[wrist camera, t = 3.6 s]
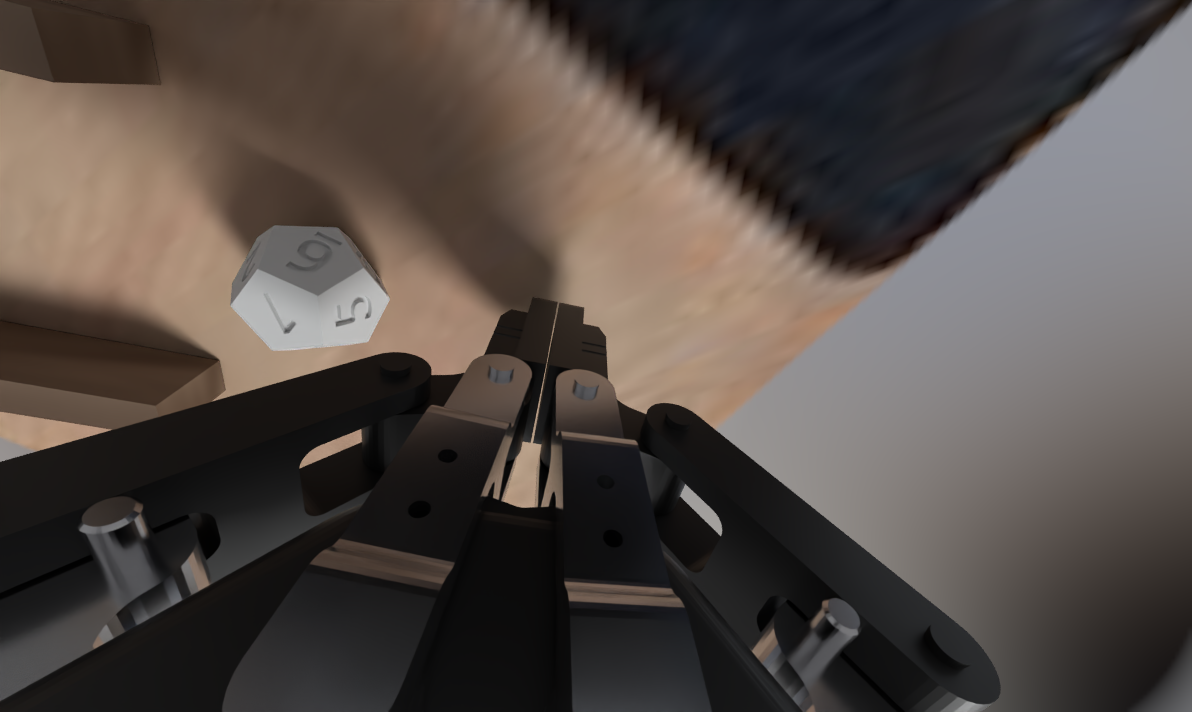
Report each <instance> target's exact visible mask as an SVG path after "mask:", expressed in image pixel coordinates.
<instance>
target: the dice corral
mask: <svg viewBox="0 0 1192 712" xmlns="http://www.w3.org/2000/svg"><path fill="white" fill-rule="evenodd" d="M0 69H1V70H5V71H9V72H13V73H17V74H22V75H26V76H30V77H34V78H38V79H43V80H47V81H51V82H63V83H106V84H149V85H161V84H160V79H159V75H158V70H157V65H156V60H155V56H154V51H153V46H152V42H151V37H150V32H149V28H148V25H144V24H140V23H136V22H132V21H128V20H124V19H120V18H117V17H113V16H109V15H105V14H101V13H97V12H93V11H89V10H85V9H82V8H78V7H74V6H70V5H66V4H62V3H58V2H54V1H50V0H0ZM225 390H226V389H225V385H224V380H223V375H222V371H221V366H220V361H218V360H213V359H207V358H202V357H196V356H191V355H185V354H180V353H174V352H169V351H163V350H158V349H152V348H147V347H141V346H136V345H130V344H125V343H119V342H114V341H108V340H103V339H97V338H92V337H86V336H81V335H75V334H70V333H64V332H59V331H53V330H48V329H42V328H37V327H31V326H25V325H20V324H14V323H9V322H3V321H0V412H6V413H13V414H19V415H25V416H31V417H38V418H44V419H50V420H56V421H62V422H69V423H75V424H81V425H87V426H93V427H100V428H106V429H112V430H114V429H118V428H121V427H125V426H128V425H132V424H135V423H139V422H142V421H146V420H149V419H153V418H156V417H160V416H163V415H167V414H170V413H174V412H177V411H181V410H185V409H188V408H192V407H195V406H199V405H202V404H206V403H209V402H211V401H213V400H214V399H215V398H216V397H218V396H219V395H220V394H221V393H223V392H224V391H225Z"/></svg>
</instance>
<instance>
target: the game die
mask: <svg viewBox="0 0 1192 712" xmlns="http://www.w3.org/2000/svg"><path fill="white" fill-rule="evenodd" d="M389 300H390V298H389V296H388V293H387V291H386V289H385V287H384V285H383V283H382V281H381V279H380V278H379V277H378V275H377V274H376V273H375V271H374V270H373V268H372V267H371V266H370V264H369V263H368V262H367V260H366V259H365V258H364V256H363V255H362V253H361V252H360V251H359V249H358V248H357V247H356V245H355V244H354V242H353V241H352V240H351V238H349V237H348V236H347V235H346V234H345V233H344V232H342V231H341V230H340V229H339V228H338V227H309V226H279V225H274V226H272V227H271V228H270V229H268V230H267V231H265V232H264V233H263V234H261V235H260V236H258V237H257V239H256V241H255V243H254V244H253V246H252V248H251V250H250V252H249V253H248V255H247V257H246V259H245V261H244V263H243V264H242V266H241V268H240V270H239V272H238V274H237V275H236V277H235V279H234V281H233V283H232V293H231V304H230V306H231V307H232V308H233V309H234V310H235V311H236V312H237V313H238V315H239V316H240V317H241V318H242V319H243V320H244V321H245V322H246V323H247V324H248V325H249V326H250V327H251V328H252V330H253V331H254V332H255V333H256V334H257V335H258V336H259V337H260V338H261V339H262V340H263V341H264V342H265V343H266V345H267V346H268V347H269V348H270V349H271V350H272V351H277V350H298V349H309V348H320V347H331V346H342V345H351V344H358V343H365V342H368V341H369V339H370V337H371V335H372V333H373V331H374V329H375V327H376V325H377V323H378V321H379V319H380V317H381V315H382V313H383V311H384V309H385V308H386V306H387V304H388V302H389Z"/></svg>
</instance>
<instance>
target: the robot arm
mask: <svg viewBox="0 0 1192 712" xmlns="http://www.w3.org/2000/svg"><path fill="white" fill-rule="evenodd" d="M556 308H557V302H555V301H550V300H545V299H540V298H535V297H533V298H532V302H531V305H530V308H529V311H528V313H526V312H521V311H517V310H512V309H511V310H510V311H508V312H506V313H505V314H503V315H501V317H500V319H499V321H498V324H497V327H496V328H495V331H494V334H493V335H492V338H491V340H490V342H489V345H488V347H487V350H486V352H485V354H484V355H483V356H480V357H478V358H476V359H474V360H473V361H472V362H471V364H470V365H469V367H468V368H467V370H466V372H465V373H461V374H455V375H431V367H430V365H429V364H428V363H427V362H426V361H425V360H424V359H422V358H420V357H418V356H415V355H412V354H408V353H399V352H391V353H382V354H378V355H374V356H371V357H367V358H364V359H360V360H357V361H353V362H350V363H346V364H343V365H339V366H336V367H332V368H329V369H325V370H322V371H318V372H315V373H311V374H308V375H304V376H300V377H297V378H293V379H290V380H286V381H283V382H279V383H276V384H272V385H269V386H265V387H262V388H258V389H255V390H251V391H248V392H244V393H241V394H237V395H234V396H230V397H227V398H223V399H220V400H216V401H213V402H209V403H206V404H202V405H199V406H195V407H192V408H188V409H185V410H181V411H177V412H174V413H170V414H167V415H163V416H160V417H156V418H153V419H149V420H146V421H142V422H139V423H135V424H132V425H128V426H125V427H121V428H118V429H114V430H111V431H107V432H104V433H100V434H97V435H93V436H90V437H86V438H83V439H79V440H76V441H72V442H69V443H65V444H62V445H58V446H55V447H51V448H47V449H44V450H40V451H37V452H33V453H30V454H26V455H23V456H20V457H16V458H12V459H9V460H5V461H2V462H0V712H981V711H983V710H984V709H985V708H986V707H988V706H989V705H991V704H992V703H993V702H995V701H996V700H997V699H998V698H999V695H1000V682H999V677H998V675H997V672H996V670H995V668H994V666H993V664H992V662H991V661H990V659H989V657H988V656H987V654H986V653H985V652H984V650H983V649H982V648H981V646H980V645H979V644H978V643H977V642H976V641H975V640H974V638H972V636H971V635H970V634H968V632H967V631H965V630H964V629H963V628H962V627H960V626H959V625H958V624H957V623H956V622H955V621H954V620H952V619H951V618H949V616H947V615H946V614H945V613H943V612H942V611H941V610H940V609H939V608H937V607H936V606H935V605H934V604H932V603H931V602H930V601H928V600H927V599H926V598H925V597H923V596H922V595H921V594H920V593H919V592H917V591H916V590H915V589H913V588H912V587H911V586H910V585H909V584H907V583H906V582H905V581H904V580H902V579H901V578H900V577H898V576H897V575H896V574H895V573H894V572H892V571H891V570H890V569H889V568H887V567H886V566H885V565H884V564H882V563H881V562H880V561H878V560H877V559H876V558H875V557H873V556H872V555H871V554H870V553H869V552H867V551H866V550H865V549H864V548H862V547H861V546H860V545H858V544H857V543H856V542H855V541H854V540H852V539H851V538H850V537H849V536H847V535H846V534H845V533H844V532H842V531H841V530H840V529H839V528H837V527H836V526H835V525H834V524H832V523H831V522H830V521H829V520H827V519H826V518H825V517H824V516H822V515H821V514H820V513H818V512H817V511H816V510H815V509H814V508H812V507H811V506H810V505H809V504H807V503H806V502H805V501H803V500H802V499H801V498H800V497H799V496H797V495H796V494H795V493H794V492H792V491H791V490H790V489H789V488H787V487H786V486H785V485H784V484H782V483H781V482H780V481H779V480H777V479H776V478H774V477H773V476H772V475H771V474H770V473H769V472H767V471H766V470H765V469H764V468H762V467H761V466H760V465H758V464H757V463H756V462H755V461H754V460H752V459H751V458H750V457H749V456H747V455H746V454H745V453H744V452H742V451H741V450H740V449H739V448H737V447H736V446H735V445H733V444H732V443H731V442H730V441H729V440H727V439H726V438H725V437H724V436H722V435H721V434H720V433H719V432H717V431H716V430H715V429H714V428H712V427H711V426H710V425H709V424H707V423H706V422H705V421H704V420H702V419H701V418H700V417H699V416H697V415H696V414H695V413H693V412H692V411H690V410H688V409H686V408H684V407H682V406H679V405H675V404H670V403H659V404H655V405H653V406H651V407H650V408H649V409H648V411H647V414H644V413H642V412H639V411H637V410H634V409H632V408H629V407H627V406H626V405H624V404H622V403H621V402H619V401H618V400H617V398H616V393H615V389H614V387H613V385H612V384H611V382H610V381H608V373H607V356H606V355H607V351H606V336H605V335H604V334H603V332H602V331H601V330H600V328H599V327H596V326H591V325H586V324H583V318H584V307H579V306H574V305H569V304H565V303H559V308H558V313H557V318H556V323H555V328H554V333H553V337H552V342H551V347H550V352H549V346H550V341H551V335H552V330H553V324H554V319H555V313H556ZM548 352H549V357H548ZM547 358H548V363H547ZM546 363H547V368H546ZM545 368H546V373H545ZM544 373H545V379H544V385H543V390H542V396H541V402H540V407H539V413H538V419H537V424H536V430H535V436H534V441H533V443H536V444H542V445H541V452H540V456H539V461H538V465H537V473H536V493H535V507H532V508H521V507H516V506H513V505H511V504H508V503H506V502H503V501H504V498H505V495H506V492H507V489H508V486H509V483H510V480H511V477H512V474H513V471H514V468H515V463H516V458H517V456H518V454H519V453H520V451H521V447H522V442H523V441H524V442H530V443H531V438H532V433H533V428H534V423H535V418H536V413H537V408H538V403H539V398H540V393H541V388H542V383H543V378H544ZM360 429H361V430H362V442H361V443H359V444H356V445H354V446H352V447H349V448H347V449H345V450H342V451H340V452H338V453H335V454H333V455H330V456H328V457H326V458H323V459H321V460H319V461H316V462H314V463H312V464H309V465H307V466H305V467H302V468H300V469H299V467H300V463H301V461H302V460H303V458H304V457H305V456H306V454H308V453H309V452H310V451H311V450H312V449H314V448H316V447H318V446H320V445H322V444H325V443H327V442H330V441H332V440H335V439H337V438H340V437H342V436H345V435H347V434H350V433H352V432H355V431H357V430H360ZM685 484H686V485H687V486H688V487H689V488H690V489H691V490H692V491H693V492H694V493H696V494H697V495H698V496H699V497H700V498H701V499H702V500H703V501H704V502H705V503H706V504H707V505H708V506H710V508H711V509H712V510H713V511H714V512H715V513H716V514H717V515H718V517H719V519H720V521H721V524H722V535H721V536H720V535H719V534H718V533H717V532H716V531H715V530H714V529H713V528H712V527H711V526H710V525H709V524H708V523H707V522H705V521H704V520H703V519H702V518H701V517H700V516H699V515H698V514H697V513H696V512H695V511H694V510H693V509H692V508H691V507H690V506H689V505H688V504H687V503H686V502H685V501H684V500H683V499H682V498H681V497H680V495H681V492H682V490H683V488H684V486H685Z"/></svg>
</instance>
